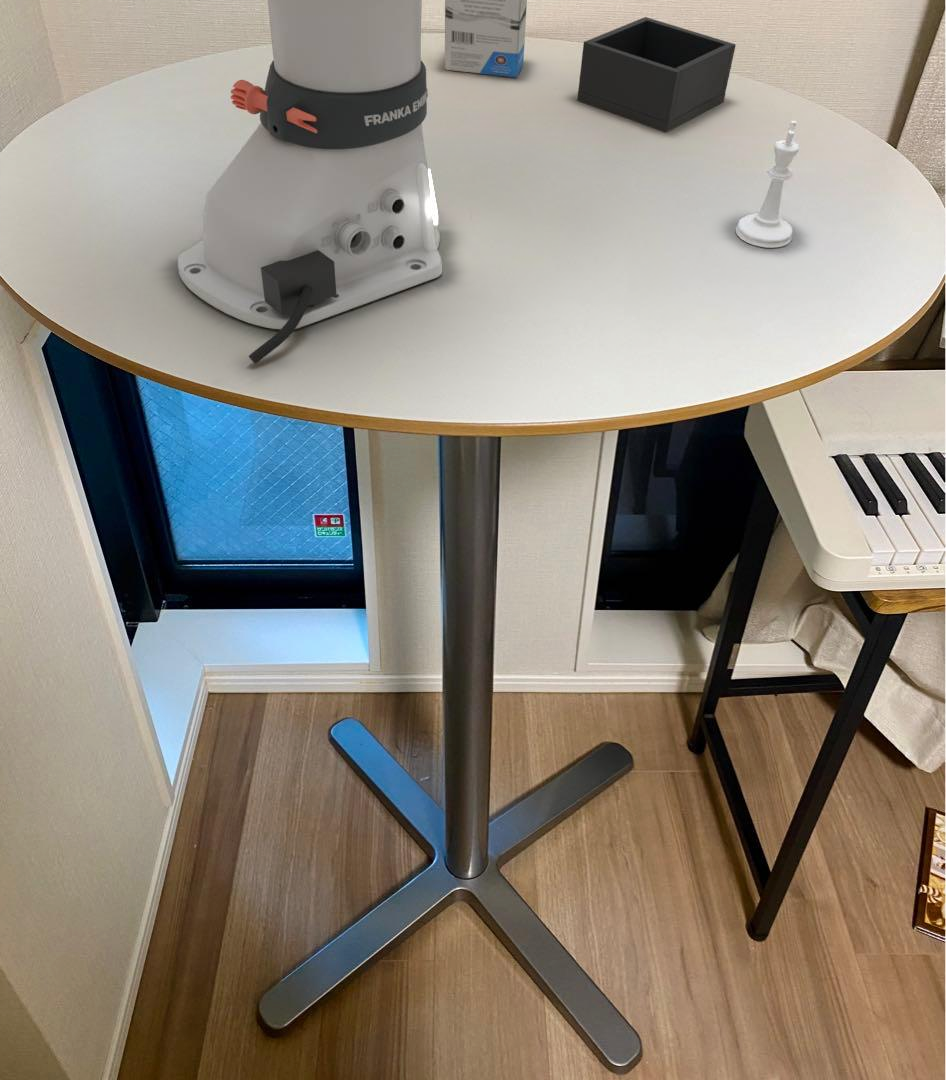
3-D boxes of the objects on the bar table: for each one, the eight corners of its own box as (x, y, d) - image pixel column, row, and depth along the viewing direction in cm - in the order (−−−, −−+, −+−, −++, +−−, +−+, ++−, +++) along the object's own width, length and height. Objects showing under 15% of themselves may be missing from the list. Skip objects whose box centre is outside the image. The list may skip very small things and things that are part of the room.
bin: (666, 132, 103) (677, 72, 99) (577, 100, 108) (583, 41, 104) (723, 101, 109) (736, 44, 105) (636, 72, 114) (645, 16, 110)
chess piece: (733, 242, 87) (761, 129, 80) (737, 217, 90) (765, 106, 83) (790, 252, 86) (823, 138, 79) (792, 226, 90) (825, 114, 82)
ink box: (524, 64, 115) (533, -50, 107) (516, 79, 111) (524, -37, 103) (452, 55, 116) (455, -59, 108) (442, 70, 113) (444, -46, 104)
